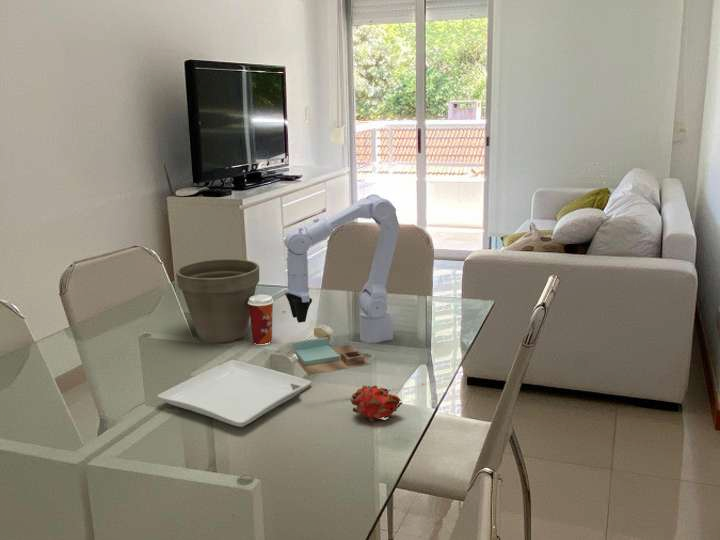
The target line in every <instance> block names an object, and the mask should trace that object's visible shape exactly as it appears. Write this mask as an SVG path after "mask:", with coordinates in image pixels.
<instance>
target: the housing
mask: <svg viewBox="0 0 720 540" xmlns="http://www.w3.org/2000/svg"><path fill="white" fill-rule="evenodd" d="M330 347H331V348H332V349H333V350H334V351H335V352H336V353H337V354H338V355H339V356H340V360H336V361H330V362H324V363H318V364H311V365H304V364H303V363H302V362H301V360H300V359H299V358H298V360H297V361H296V362H297V363H298V364H299V366H300V367H301V368H302V369H303V370H304V371H305V372H306V374H307V375H308V376H310V375H316V374H321V373H322V374H323V373H329V372H334V371H341V370H346V369H352V368H358V367H364V366H369V365H370V366H371V365H372V363H371V362H370V361H369V360H367V359H366V358H365V356H364V355H363V354H362V352H360V351H359V350H358V349H355V348H354V346H352V345H351V344H345V345H337V346H333V347H332V346H330Z"/></svg>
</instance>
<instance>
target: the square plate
mask: <svg viewBox="0 0 720 540" xmlns="http://www.w3.org/2000/svg"><path fill="white" fill-rule="evenodd" d="M312 384H313V383H312V381H311V380H309V379H305V378H302V377H298V376H295V375H292V374H288V373H285V372H282V371H279V370H278V371H277V370H274V369H270V368H268V367H263V366H259V365H256V364H251V363H248V362H247V363H246V362H243V361H238V360H234V359H231V360H228V361H226V362H223V363H220V364H218V365H217V366H214V367H211V368H210V369H208V370H206V371H203V372H201V373H199V374H197V375H195V376H193V377H191V378H189V379H187V380H184V381H182V382H181V383H178V384H177V385H174V386H173V387H171V388H169V389H167V390H165V391H162V392H160V393H159V394H158V395H157V397H156V398H159V399H160V400H162V401H163V402H164V403H166V404H169V405H171V406H175V407H177V408H181V409H183V410H188V411H190V410H191V412H193V413H197V414H201V415H203V416H207V417H210V418H213V419H215V420H218V421H221V422H223V423H226V424H228V425H232V426H236V427H240V428H241V427H242V428H243V427H245V426H246V425H248V424H250V423H252V422H254V421H255V420H257V419H258V418H259V417H261V416H264V415H265V414H266V413H268V412H271V410H274V409H275V408H277V407H278V406H280V405H282V404H283V403H286V402H287V401H290V400H291V399H293V398H295V397H296V396H298V395H299V394H300V393H301V392H303V391H305V390H306V389H308V388H309V387H310V386H311V385H312ZM293 385H295V386H298V387H297V388H294V386H293Z"/></svg>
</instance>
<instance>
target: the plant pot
mask: <svg viewBox="0 0 720 540" xmlns="http://www.w3.org/2000/svg"><path fill="white" fill-rule="evenodd" d="M175 275H176V282H177V287H178V289H180V290H181V292H182V295H183V298H184V300H185V304H186V306H187V309H188V312H189V316H190V318H191V320H192V323H193V327H194V329H195V331H196V334H197V336H198V338H199V339H200V340H202V341H203V342H207V343H217V344H218V343H219V344H220V343H221V344H222V343H230V342H233V341H237V340H239V339H242V338H243V337H245V336H246V334H247V331H248V326H249V323H250V310H249V304H248V301H249V298H250V297H251V296H254V295H256V290H257V289H256V288H257V285H258V284H259V283H260V265H259V264H258V263H257V262H255V261H252V260H246V259H239V258H217V259H205V260H200V261H193V262H191V263H186V264H185V265H181V266H180V267H178V268H177V269H176V271H175Z"/></svg>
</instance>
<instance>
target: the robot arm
mask: <svg viewBox="0 0 720 540" xmlns="http://www.w3.org/2000/svg"><path fill="white" fill-rule="evenodd" d="M358 218H359V219H365V220H366V219H369V220H371V219H372V220H374V222H375V223H376V225H377V226H378V228H379V236H378V240H377V244H376V248H375V251H374V255H373V260H372V264H371V268H370V272H369V276H368V281H367V282H365V284H363V289H362V291H361V292H360V293H359V295H358V297H357V303H358V306H359V308H361V311H360V313H359V323H360V324H359V332H360V333H359V335H360V337H359V338H360V339H359V340H360V341H361V342H364V343H366V344H367V343H368V344H377V343H378V344H379V343H381V342H386V341H393V340H394V322H393V321H394V320H393V316H392V315H391V313H389V312H387V310H388V302H387V297H388V293H387V288H386V286H387V285H386V284H387V281H388V276H389V273H390V271H391V270H390V269H391V265H392V261H393V257H394V254H395V250H396V249H395V248H396V245H397V241H398V237H399V233H400V223H399V221H398V216H397V208H396V207H395V206H394V204H393V203H392V202H391V201H390V200H389V199H386V198H383V197H381V196H380V195H378V194H369V195H368V196H366V197H363V198H360V199H358V200H357V201H356V202H354V203H353V204H351V205H349V206H347V207H346V208H343V209H342V210H341V211H339V212H337V213H336V214H334V215H332V216H330V217H329V218H325V217H319V218H318V217H315V218H313V221H312V222H310V223H308V224H306V225H304V226H303V227H302V226H299V227H298V230H297V229H296V230H291V231H290V232H289V231H288V233H287V234H286V236H285V239H284V241H283V243H284V245H285V247H286V250H287V251H286V252H287V253H286V256H287V257H286V267H287V269H286V270H287V288H284V289H283V292H284V293H285V294H284V295H285V297H286V299H287V301H288V304H289V307H290V311H291V312H290V313H291V316H292V317H293V318H294V319H295V318H296V321H297V323H305V322H306V320H307V317H308V316H307V315H308V311H309V308H310V306H311V304H312V303H313V299H312V298H311V297H310V294H309V293H310V288H309V273H308V272H309V268H308V266H309V265H308V251H309V249H310V247H312V246H314V245H316V244H318V243H320V242H322V241H323V240H326V239H328V238H330V237H331V236H332V233H333V231H334V229H337V228H340V227H342V226H344V225H347V224H348V223H350V222H352V221H354V220H357V219H358Z"/></svg>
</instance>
